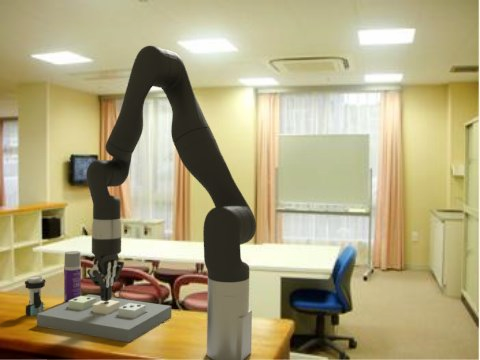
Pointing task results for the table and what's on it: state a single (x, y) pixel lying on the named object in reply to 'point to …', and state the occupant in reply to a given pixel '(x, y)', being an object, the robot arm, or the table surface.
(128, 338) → the button board
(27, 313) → the push button
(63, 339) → the table surface
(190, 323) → the table surface
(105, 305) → the tile one pip
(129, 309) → the tile three pips
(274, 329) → the table surface
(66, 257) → the container
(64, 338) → the table surface
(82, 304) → the tile two pips
